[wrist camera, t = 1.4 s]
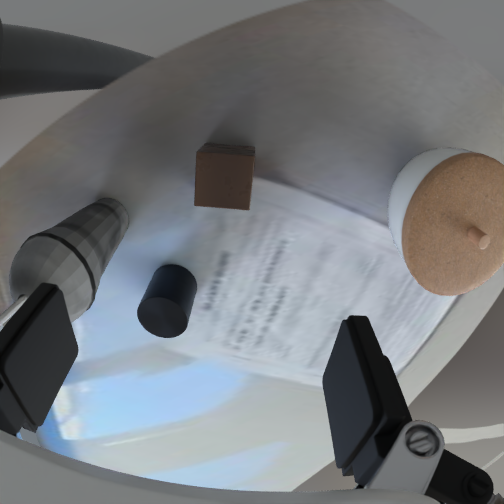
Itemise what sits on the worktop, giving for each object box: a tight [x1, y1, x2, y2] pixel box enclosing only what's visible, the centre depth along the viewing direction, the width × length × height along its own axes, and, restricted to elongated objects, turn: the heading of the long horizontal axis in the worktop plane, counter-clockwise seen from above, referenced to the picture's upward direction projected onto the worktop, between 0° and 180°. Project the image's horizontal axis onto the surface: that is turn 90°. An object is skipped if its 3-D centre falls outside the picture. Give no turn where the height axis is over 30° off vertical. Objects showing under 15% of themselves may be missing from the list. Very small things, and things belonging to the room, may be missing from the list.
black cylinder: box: [137, 264, 197, 338], centre depth 32 cm, size 5×5×6 cm
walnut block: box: [194, 143, 255, 210], centre depth 27 cm, size 4×4×4 cm
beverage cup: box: [0, 198, 129, 326], centre depth 22 cm, size 7×7×20 cm
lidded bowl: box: [387, 147, 504, 296], centre depth 25 cm, size 13×13×11 cm
